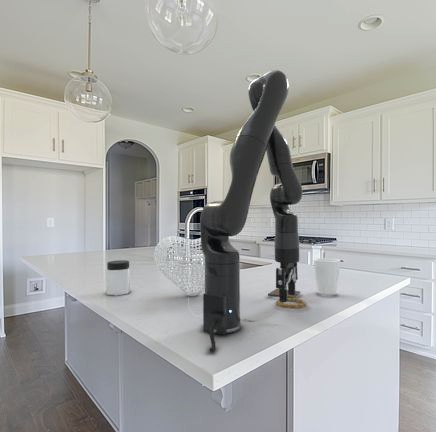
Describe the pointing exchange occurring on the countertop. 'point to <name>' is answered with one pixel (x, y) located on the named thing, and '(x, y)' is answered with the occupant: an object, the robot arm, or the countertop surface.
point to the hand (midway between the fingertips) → (287, 298)
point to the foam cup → (326, 275)
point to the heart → (170, 239)
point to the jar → (118, 277)
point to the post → (276, 293)
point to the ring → (292, 306)
